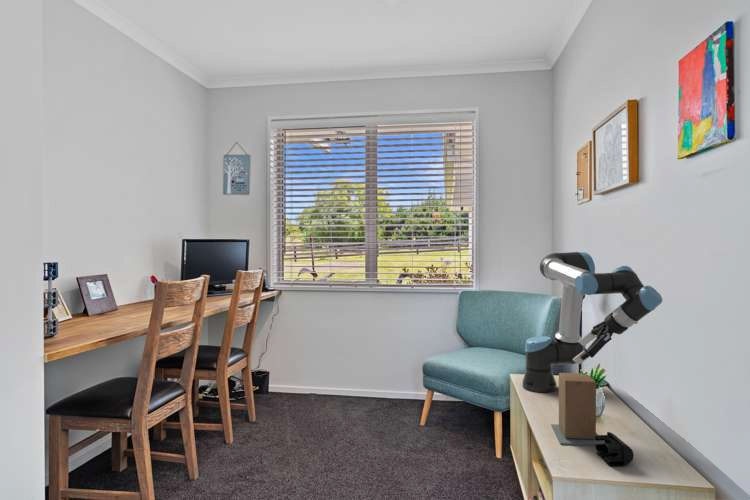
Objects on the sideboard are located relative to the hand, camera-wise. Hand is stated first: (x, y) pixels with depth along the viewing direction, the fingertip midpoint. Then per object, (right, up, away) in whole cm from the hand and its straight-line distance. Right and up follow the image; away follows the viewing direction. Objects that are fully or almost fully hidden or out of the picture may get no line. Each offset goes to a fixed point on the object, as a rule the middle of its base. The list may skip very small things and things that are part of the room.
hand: (578, 352), depth 174 cm
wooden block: (-7, -25, -15) cm, 30 cm away
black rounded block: (-4, -26, -33) cm, 42 cm away
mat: (-7, -26, -15) cm, 31 cm away
